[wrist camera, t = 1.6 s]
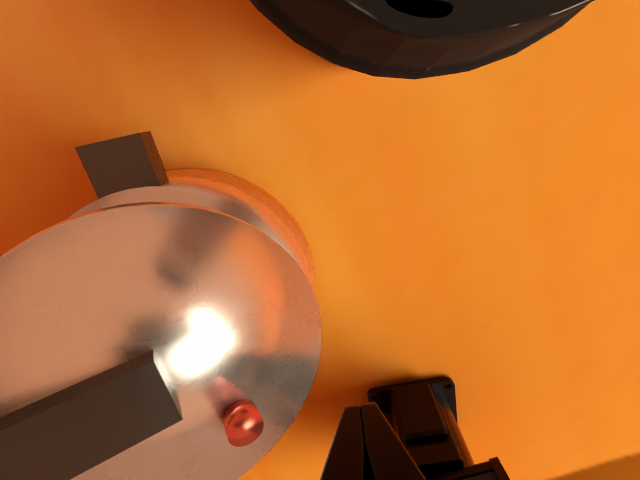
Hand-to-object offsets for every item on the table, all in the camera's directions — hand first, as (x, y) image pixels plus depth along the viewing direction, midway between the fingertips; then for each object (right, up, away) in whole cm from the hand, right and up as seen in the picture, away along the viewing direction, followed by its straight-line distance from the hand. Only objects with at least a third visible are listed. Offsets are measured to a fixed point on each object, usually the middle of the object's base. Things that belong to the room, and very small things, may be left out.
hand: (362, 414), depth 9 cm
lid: (-8, -1, +5) cm, 10 cm away
